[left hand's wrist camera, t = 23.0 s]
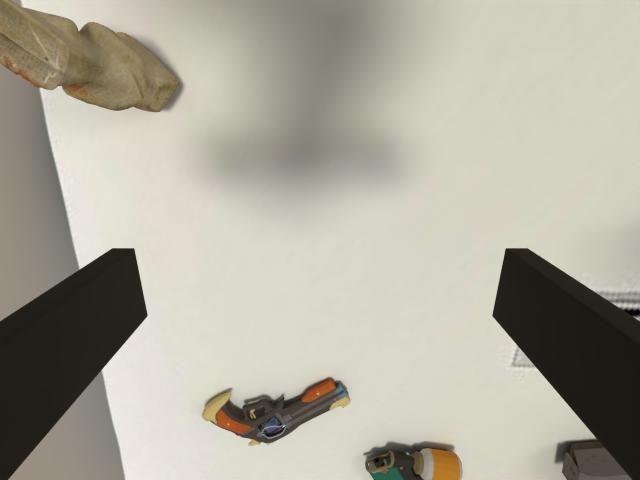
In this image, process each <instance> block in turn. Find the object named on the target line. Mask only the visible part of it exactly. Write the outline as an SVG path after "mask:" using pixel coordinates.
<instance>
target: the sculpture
mask: <svg viewBox="0 0 640 480" xmlns="http://www.w3.org/2000/svg"><path fill="white" fill-rule="evenodd" d="M0 64H1V65H3V66H4V67H6V68H8V69H9V70H11V71H12V72H13V73H15V74H17V75H18V76H20V77H22V78H24V79H25V80H27V81H29V82H30V83H31V85H33V86H34V87H38V88H44V89H47V90H53V89H55V88H57V87H58V86H62V88H63V90H64V92H65V93H66V94H68V95H70V96H72V97H74V98H76V99H79V100H81V101H84V102H86V103H89V104H93V105H97V106H100V107H103V108H107V109H110V110H115V111H119V110H125V109H128V108H131V107H135V108H138V109H141V110H145V111H150V112H160V111H161V110H162V109H163V108H164V106H165V105H166V104H167V102H168V100H169V99H170V97H171V95H172V93H173V91H174V90H175V89H176V87H177V85H178V83H179V80H178V79H177V78H176V77H175V76H174V75H173V74H171V73H170V72H169V71H168V70H167V69H166V68H165V67H164V66H163V65H162V63H161V62H160V61H159V60H158V59H157V58H156V57H155V56H154V55H152V54H151V53H150V52H149V51H148V50H147V49H145V48H144V47H143V46H142V45H140V44H139V43H138V42H137V41H135V40H134V39H133V38H131V37H130V36H129V35H127V34H125V33H122V32H117V33H115V32H114V31H112V30H111V29H109V28H107V27H105V26H103V25H100V24H98V23H95V22H89V23H87V24H86V25H84V27H83V28H82V29H81V30H80V31H78V29H77V26H76V24H75V23H74V22H73V21H71V20H70V19H67V18H64V17H60V16H56V15H51V14H47V13H43V12H39V11H35V10H31V9H27V8H23V7H20V6H19V5H17V4H15V3H14V2H12V1H10V0H0Z"/></svg>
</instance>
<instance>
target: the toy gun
mask: <svg viewBox="0 0 640 480" xmlns="http://www.w3.org/2000/svg"><path fill="white" fill-rule="evenodd" d="M230 396H231V392H226V393H224V394H222V395H220V396H218V397H216V398H215V399H213V400H212V401H211V402H209V403H208V404H207V406H206V407H205V409H204V411H203V413H202V417H203V418H204V419H205V420H206V421H210V422H212V423H213V424H215V425H217V426H219V427H221V428H223V429H226V430H228V431H231V432H233V433H235V434H236V435H238V436H241V437H243V438H249V439H251V440H252V441H251V442H250V443H249V446H252V445H255V444H260V442H264V443H267V445H269V444H270V443H272V442H274V441H276V440H278V439H280V438H282V437H284V436H286V435H287V434H289V433H291V432H292V431H293V430H295V429H296V428H297V427H298V426H299V425H301V424H303V423H305V422H307V421H309V420H311V419H313V418H315V417H317V416H319V415H321V414H323V413H325V412H327V411H330V410H332V409H334V408H336V407H338V406H340V405H341V406H342V407H343V408H344V407H345V406H346V405H348V404H349V403H350V397H349V396H348V392H347V390H346V389H345V388H343V385H342V384H335V383H334V381H333V380H332V379H329V380H327V381H325V382H323V383H321V384H319V385H317V386H315V387H313V388H311V389H309V390H308V391H307V392H306V393H305V395H304V396H303V397H302V398H301V399H300V400H298V401H296V402H294V403H292V404H290V405H286V406H283V404H284V397H283V398H282V399H281V400H280V401H279V402H278V403H277V404H275V405H272V404H271V403H270V401H268V400H267V399H261V400H259V401H257V402H255V403H252V404H247V405H243V408H242V411H243V413H244V415H245V416H243V415H241V414H239V413H237V412H236V411H234V410H233V409H232V408H231V407H230V405H229V403H228V399H229V398H230ZM261 406H263V407H264V408H265V411H263V412H261V413H259V414H258V415H256V416H255V414H254V413H253V412H254V411H255V409H256V408H259V407H261ZM249 410H251V411H250V415H249V414H248V411H249ZM251 413H252V414H251ZM252 415H253V416H252ZM267 420H268V421H267ZM265 421H267V423H266V424H265V425H264V422H265ZM262 423H263V426H264V427H263V426H261V424H262ZM284 424H285V427H284V428H282V426H283V425H284Z"/></svg>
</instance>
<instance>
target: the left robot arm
mask: <svg viewBox="0 0 640 480" xmlns="http://www.w3.org/2000/svg"><path fill="white" fill-rule="evenodd" d="M147 316H148V315H147V310H146V305H145V300H144V295H143V290H142V285H141V280H140V275H139V270H138V265H137V260H136V255H135V250H134V248H112V249H111V250H109V251H108V252H106V253H105V254H103V255H102V256H100V257H99V258H97V259H95V260H94V261H92V262H91V263H89V264H88V265H86V266H85V267H83V268H82V269H80V270H79V271H77V272H75V273H74V274H72V275H71V276H69V277H68V278H66V279H65V280H63V281H62V282H60V283H59V284H57V285H55V286H54V287H52V288H51V289H49V290H48V291H46V292H45V293H43V294H42V295H40V296H39V297H37V298H36V299H34V300H33V301H31V302H29V303H28V304H26V305H25V306H23V307H22V308H20V309H19V310H17V311H15V312H14V313H12V314H11V315H9V316H8V317H6V318H5V319H3V320H2V321H0V480H8V479H9V478H10V477H11V476H12V474H13V473H14V472H15V471H16V470H17V468H18V467H19V466H20V465H21V464H22V463H23V461H24V460H25V459H26V458H27V457H28V456H29V454H30V453H31V452H32V451H33V450H34V449H35V447H36V446H37V445H38V444H39V443H40V441H41V440H42V439H43V438H44V437H45V436H46V434H47V433H48V432H49V431H50V430H51V429H52V427H53V426H54V425H55V424H56V423H57V422H58V420H59V419H60V418H61V417H62V416H63V415H64V413H65V412H66V411H67V410H68V409H69V407H70V406H71V405H72V404H73V403H74V402H75V400H76V399H77V398H78V397H79V396H80V395H81V393H82V392H83V391H84V390H85V389H86V387H87V386H88V385H89V384H90V383H91V382H92V380H93V379H94V378H95V377H96V376H97V375H98V373H99V372H100V371H101V370H102V369H103V368H104V366H105V365H106V364H107V363H108V362H109V361H110V359H111V358H112V357H113V356H114V355H115V354H116V352H117V351H118V350H119V349H120V348H121V346H122V345H123V344H124V343H125V342H126V341H127V339H128V338H129V337H130V336H131V335H132V334H133V332H134V331H135V330H136V329H137V328H138V327H139V325H140V324H141V323H142V322H143V321H144V319H145V318H146V317H147ZM492 316H493V317H494V318H495V319H496V321H497V322H498V323H499V324H500V325H501V327H502V328H503V329H504V330H505V331H506V332H507V334H508V335H509V336H510V337H511V338H512V339H513V341H514V342H515V343H516V344H517V345H518V346H519V348H520V349H521V350H522V351H523V352H524V354H525V355H526V356H527V357H528V358H529V359H530V361H531V362H532V363H533V364H534V365H535V366H536V368H537V369H538V370H539V371H540V372H541V373H542V375H543V376H544V377H545V378H546V379H547V380H548V382H549V383H550V384H551V385H552V386H553V388H554V389H555V390H556V391H557V392H558V393H559V395H560V396H561V397H562V398H563V399H564V400H565V402H566V403H567V404H568V405H569V406H570V407H571V409H572V410H573V411H574V412H575V413H576V415H577V416H578V417H579V418H580V419H581V420H582V422H583V423H584V424H585V425H586V426H587V427H588V429H589V430H590V431H591V432H592V433H593V434H594V436H595V437H596V438H597V439H598V440H599V441H600V443H601V444H602V445H603V446H604V447H605V449H606V450H607V451H608V452H609V453H610V454H611V456H612V457H613V458H614V459H615V460H616V461H617V463H618V464H619V465H620V466H621V467H622V468H623V470H624V471H625V472H626V473H627V474H628V476H629V477H630V478H631V479H632V480H640V321H638V320H637V319H635V318H634V317H632V316H631V315H629V314H628V313H626V312H625V311H623V310H621V309H620V308H618V307H617V306H615V305H614V304H612V303H611V302H609V301H608V300H606V299H605V298H603V297H601V296H600V295H598V294H597V293H595V292H594V291H592V290H591V289H589V288H588V287H586V286H585V285H583V284H581V283H580V282H578V281H577V280H575V279H574V278H572V277H571V276H569V275H568V274H566V273H565V272H563V271H561V270H560V269H558V268H557V267H555V266H554V265H552V264H551V263H549V262H548V261H546V260H545V259H543V258H541V257H540V256H538V255H537V254H535V253H534V252H532V251H531V250H529V249H528V248H506V250H505V255H504V260H503V265H502V270H501V275H500V280H499V285H498V290H497V295H496V300H495V305H494V310H493V315H492Z"/></svg>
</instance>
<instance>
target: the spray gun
mask: <svg viewBox="0 0 640 480" xmlns="http://www.w3.org/2000/svg"><path fill="white" fill-rule="evenodd" d="M387 456H390V457H387ZM384 457H386V459H385V458H384ZM373 460H374V462H372V463H370V465H369V466H368V463H369V462H370V461H373ZM365 465H366V470H367V471H368V472H369V473H370V474H371V476H372V477H373V479H374V480H461V478H462V463H461V461H460V459H459V457H458V456H457V455H456V454H455V453H454V452H450V451H444V450H437V449H430V448H425V449H422V450H421V451H420V452H415V453H414V455H413V457H412V456H409V455H404V454H400V453H396V452H394V453H393V451H389V452H388V453H386V454H383V455H379V456H375V457H372V458H369V459H367V460H366V463H365ZM412 467H413V469H414V470H413V469H412Z"/></svg>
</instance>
